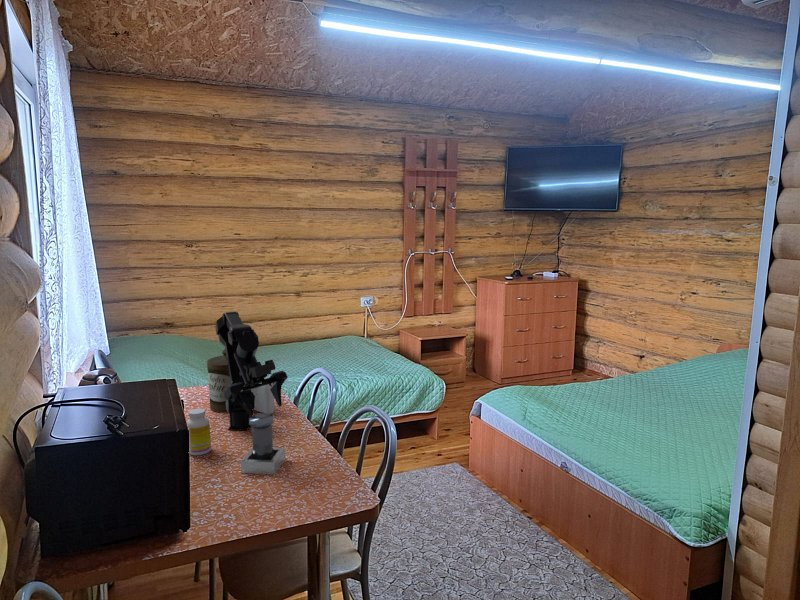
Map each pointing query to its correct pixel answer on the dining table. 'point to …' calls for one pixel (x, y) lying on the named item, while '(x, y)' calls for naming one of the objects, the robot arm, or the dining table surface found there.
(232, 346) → the robot arm
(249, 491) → the dining table surface
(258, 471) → the gray square frame
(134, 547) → the dining table surface
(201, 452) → the supplement bottle
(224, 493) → the dining table surface
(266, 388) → the white rounded block
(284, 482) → the dining table surface
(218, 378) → the wooden container
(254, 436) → the dark grey metal cylinder
